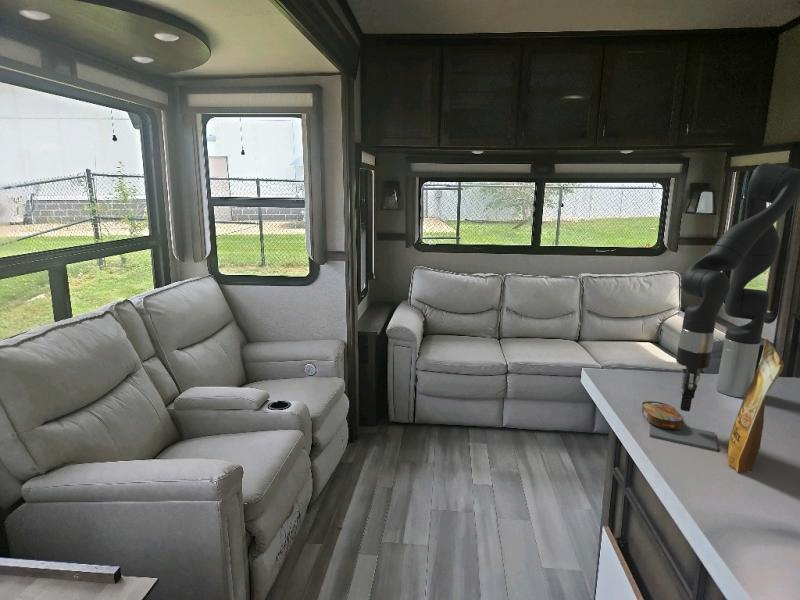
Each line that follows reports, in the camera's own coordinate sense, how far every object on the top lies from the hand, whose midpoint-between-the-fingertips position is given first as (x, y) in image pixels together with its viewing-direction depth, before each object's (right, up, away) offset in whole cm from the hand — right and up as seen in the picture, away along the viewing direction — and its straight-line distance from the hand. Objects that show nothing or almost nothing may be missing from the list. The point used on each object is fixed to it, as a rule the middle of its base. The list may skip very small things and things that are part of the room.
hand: (684, 409), depth 135 cm
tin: (+1, -3, +5) cm, 6 cm away
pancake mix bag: (+6, -9, -13) cm, 17 cm away
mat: (-2, -6, -2) cm, 7 cm away
